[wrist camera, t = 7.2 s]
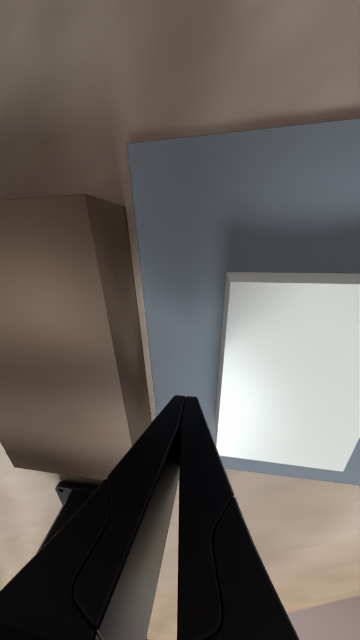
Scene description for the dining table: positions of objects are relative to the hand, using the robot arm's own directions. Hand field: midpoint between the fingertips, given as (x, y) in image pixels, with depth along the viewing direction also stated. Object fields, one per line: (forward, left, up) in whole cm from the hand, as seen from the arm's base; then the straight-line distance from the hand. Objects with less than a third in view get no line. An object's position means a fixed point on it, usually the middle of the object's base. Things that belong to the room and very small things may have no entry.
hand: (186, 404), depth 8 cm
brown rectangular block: (0, +7, -4) cm, 8 cm away
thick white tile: (0, -4, -1) cm, 5 cm away
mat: (0, -4, -4) cm, 6 cm away
